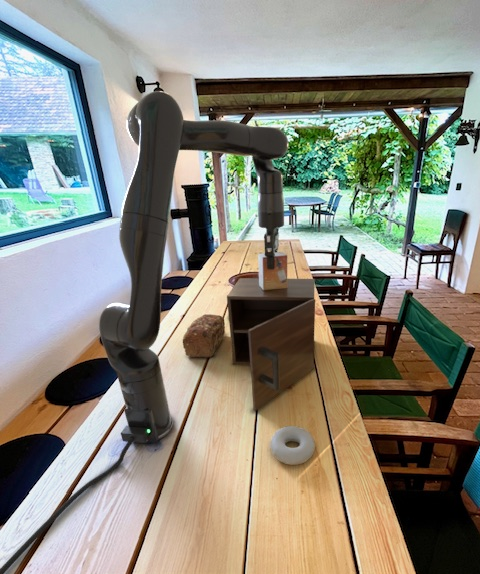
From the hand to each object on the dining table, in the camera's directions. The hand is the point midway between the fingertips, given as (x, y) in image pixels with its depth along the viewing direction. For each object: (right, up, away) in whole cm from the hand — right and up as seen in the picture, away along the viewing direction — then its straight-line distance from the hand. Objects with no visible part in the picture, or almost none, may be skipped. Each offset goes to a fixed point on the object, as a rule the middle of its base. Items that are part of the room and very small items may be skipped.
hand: (272, 265), depth 100 cm
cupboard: (+1, -28, +13) cm, 31 cm away
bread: (-24, -26, +20) cm, 41 cm away
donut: (+4, -46, -27) cm, 54 cm away
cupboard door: (+6, -37, -8) cm, 39 cm away
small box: (0, -7, +3) cm, 7 cm away
